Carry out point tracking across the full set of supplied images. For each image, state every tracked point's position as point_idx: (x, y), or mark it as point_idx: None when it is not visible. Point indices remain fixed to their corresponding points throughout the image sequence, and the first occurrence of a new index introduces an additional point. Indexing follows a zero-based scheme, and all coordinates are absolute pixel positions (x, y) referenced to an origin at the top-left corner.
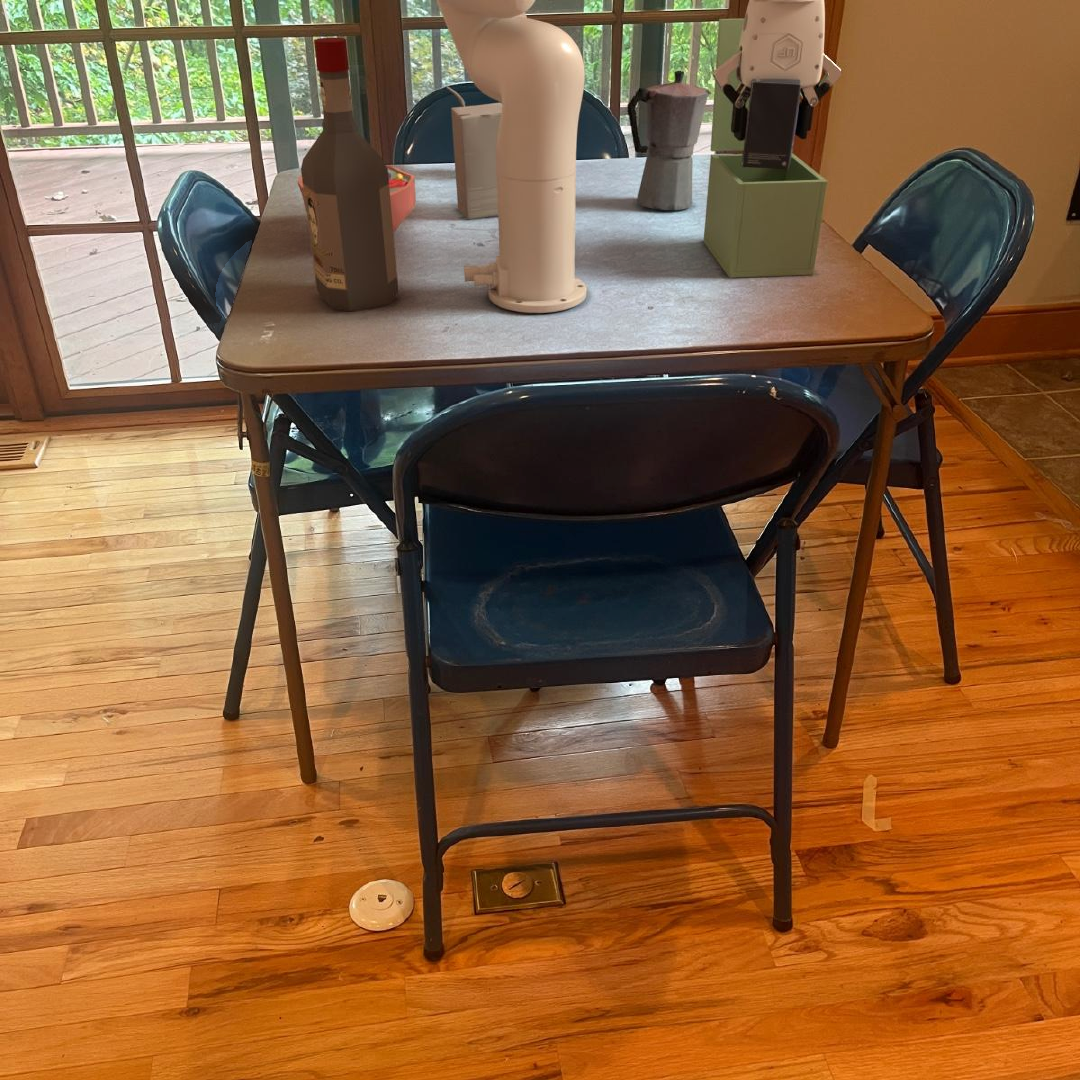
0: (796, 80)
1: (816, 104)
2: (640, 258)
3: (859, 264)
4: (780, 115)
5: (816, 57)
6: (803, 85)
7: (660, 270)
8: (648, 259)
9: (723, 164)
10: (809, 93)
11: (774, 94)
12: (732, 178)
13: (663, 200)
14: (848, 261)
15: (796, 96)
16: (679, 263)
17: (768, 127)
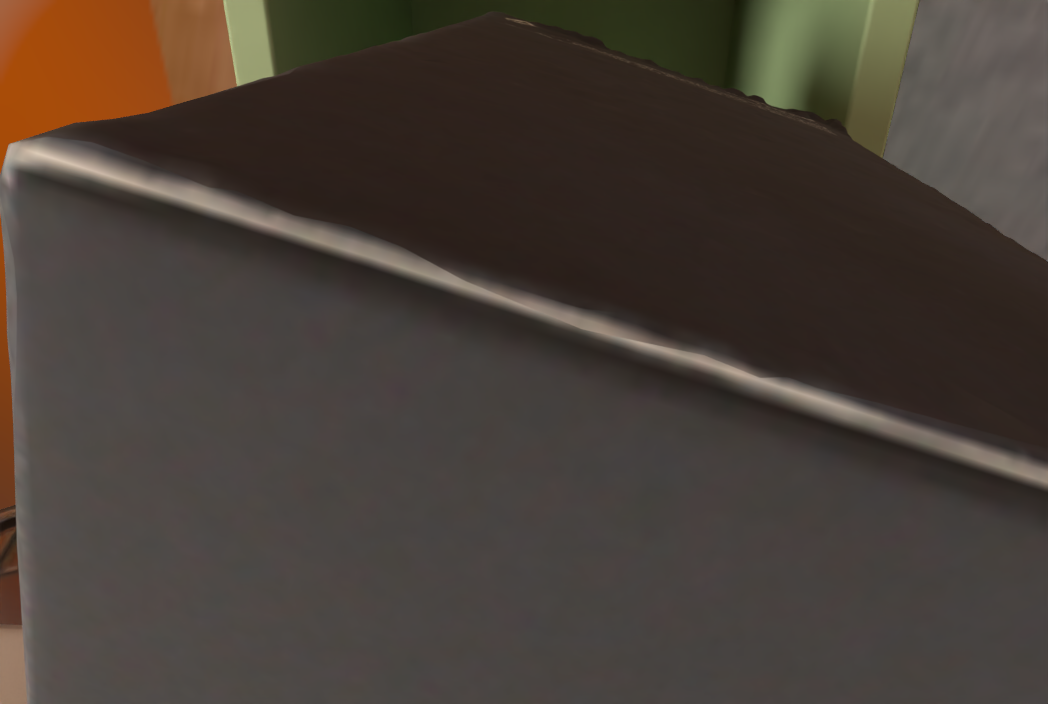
0: (122, 669)
1: (2, 513)
2: (1023, 235)
3: (175, 43)
4: (611, 111)
5: None
6: (19, 634)
7: (1016, 75)
8: (997, 218)
9: None
10: (13, 623)
11: (830, 278)
12: (897, 89)
13: None
14: (213, 87)
15: (284, 83)
16: (895, 153)
17: (738, 126)
